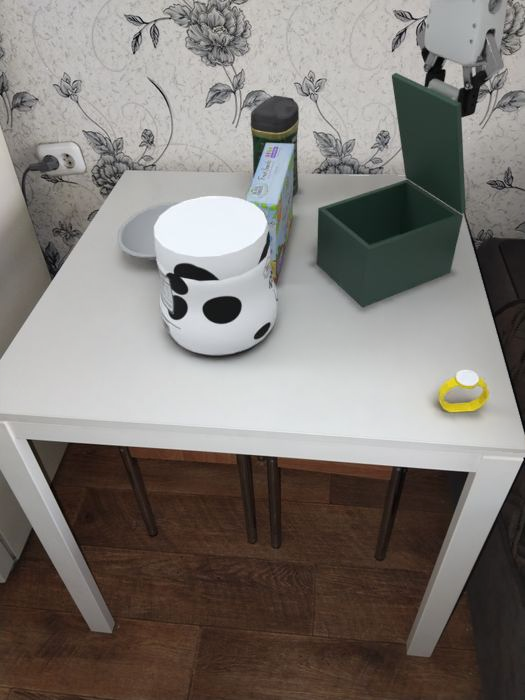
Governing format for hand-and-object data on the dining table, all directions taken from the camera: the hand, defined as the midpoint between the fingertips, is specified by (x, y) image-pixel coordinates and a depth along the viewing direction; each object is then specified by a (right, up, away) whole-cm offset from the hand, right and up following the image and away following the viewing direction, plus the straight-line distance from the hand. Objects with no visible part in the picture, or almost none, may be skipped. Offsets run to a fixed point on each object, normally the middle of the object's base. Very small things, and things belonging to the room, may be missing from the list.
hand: (447, 106), depth 85 cm
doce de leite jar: (-33, -31, +6) cm, 46 cm away
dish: (-44, -17, +21) cm, 52 cm away
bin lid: (-2, -5, +3) cm, 6 cm away
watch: (-1, -43, -8) cm, 43 cm away
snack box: (-25, -17, +20) cm, 36 cm away
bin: (-6, -21, +15) cm, 27 cm away
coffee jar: (-24, -4, +34) cm, 42 cm away
